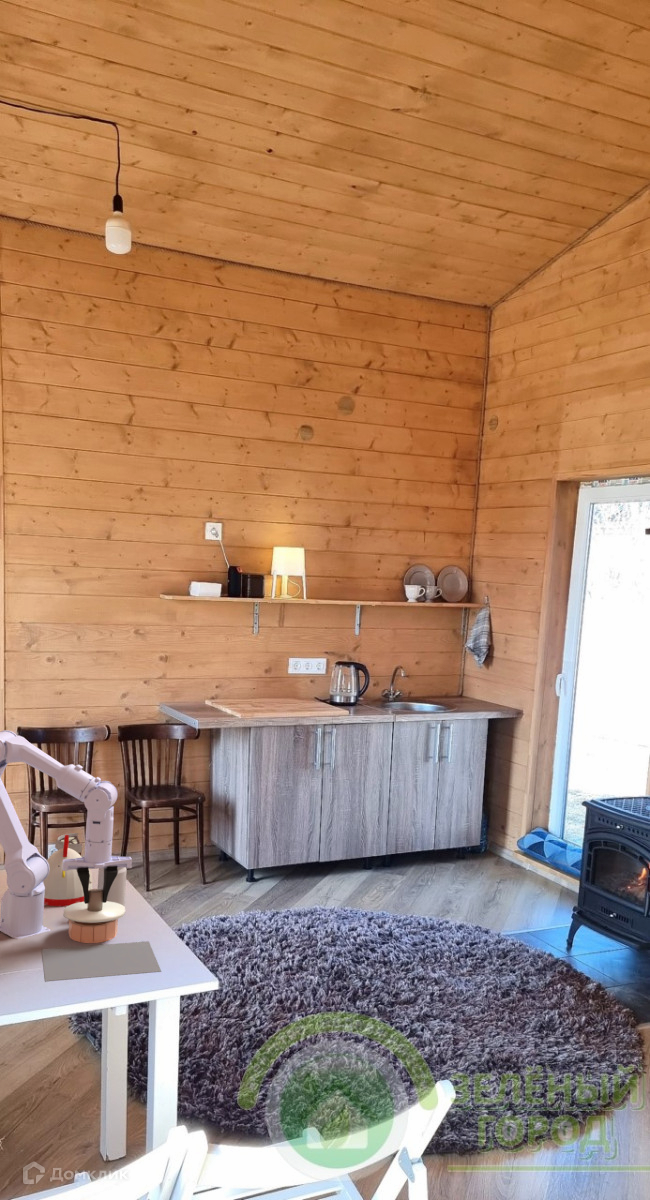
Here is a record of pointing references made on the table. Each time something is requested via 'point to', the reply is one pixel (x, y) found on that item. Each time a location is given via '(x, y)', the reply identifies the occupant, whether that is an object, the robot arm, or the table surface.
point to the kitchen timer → (63, 879)
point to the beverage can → (115, 886)
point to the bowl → (93, 931)
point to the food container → (70, 843)
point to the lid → (94, 909)
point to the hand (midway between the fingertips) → (95, 901)
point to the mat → (98, 961)
